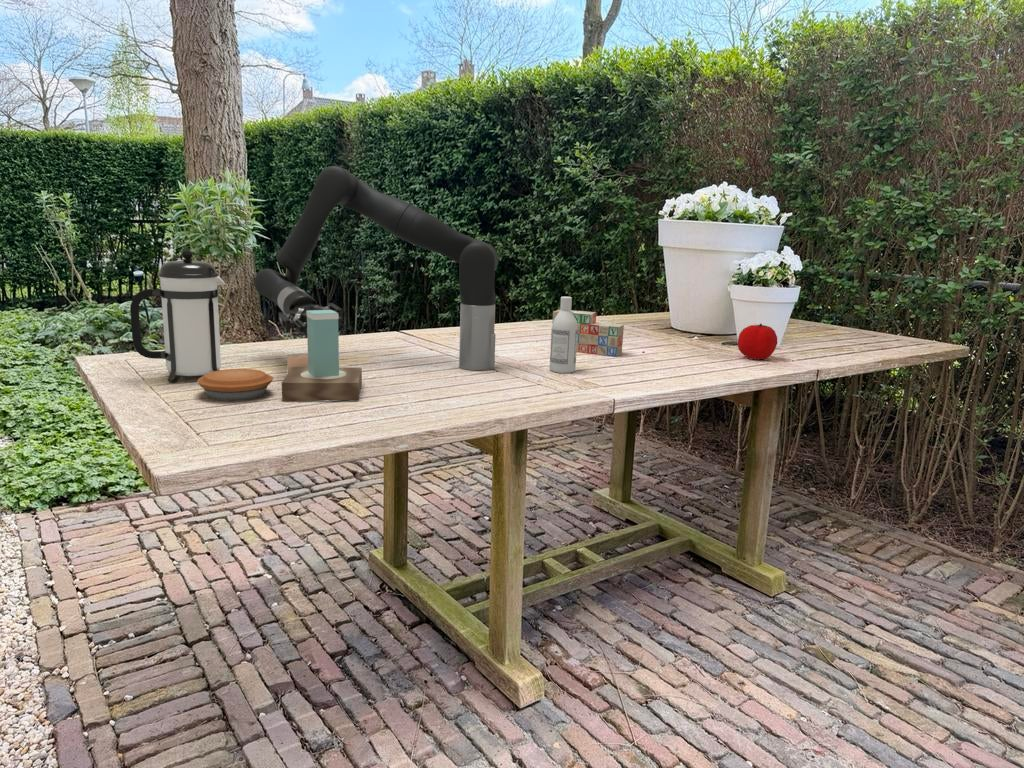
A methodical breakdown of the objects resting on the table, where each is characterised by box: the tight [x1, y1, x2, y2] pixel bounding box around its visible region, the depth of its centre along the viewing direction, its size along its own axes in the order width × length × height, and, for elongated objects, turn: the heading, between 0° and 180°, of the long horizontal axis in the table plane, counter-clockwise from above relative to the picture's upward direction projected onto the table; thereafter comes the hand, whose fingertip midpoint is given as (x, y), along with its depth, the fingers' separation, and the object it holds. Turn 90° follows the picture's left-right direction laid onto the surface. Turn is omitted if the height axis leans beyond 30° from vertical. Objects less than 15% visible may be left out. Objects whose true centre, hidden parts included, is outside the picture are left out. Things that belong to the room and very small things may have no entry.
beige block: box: [286, 352, 308, 373], centre depth 176 cm, size 6×6×6 cm
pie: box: [197, 368, 274, 402], centre depth 161 cm, size 15×16×5 cm
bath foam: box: [549, 296, 578, 374], centre depth 196 cm, size 7×7×20 cm
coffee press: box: [129, 249, 226, 384], centre depth 171 cm, size 17×16×30 cm
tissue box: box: [281, 366, 363, 402], centre depth 165 cm, size 16×16×4 cm
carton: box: [306, 310, 340, 377], centre depth 163 cm, size 6×6×14 cm
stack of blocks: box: [551, 309, 625, 358], centre depth 227 cm, size 21×6×12 cm, turn 65°
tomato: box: [737, 323, 778, 360], centre depth 227 cm, size 12×12×11 cm
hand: (322, 326), depth 173 cm, fingers open, 8 cm apart
